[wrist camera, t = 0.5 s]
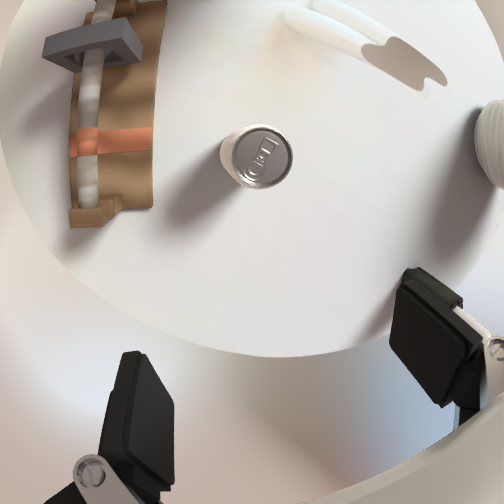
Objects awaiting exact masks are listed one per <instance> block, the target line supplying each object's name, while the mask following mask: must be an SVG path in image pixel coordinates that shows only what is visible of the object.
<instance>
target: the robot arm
mask: <svg viewBox="0 0 504 504" xmlns="http://www.w3.org/2000/svg"><path fill="white" fill-rule="evenodd" d="M482 340H483V337H482V336H481V335H480V334H479V333H478V332H477V331H476V330H475V329H473V328H472V327H471V326H470V325H469V324H468V323H467V322H466V321H464V320H463V319H462V318H461V317H460V316H459V315H457V314H456V313H455V312H454V311H453V310H452V309H450V308H449V307H448V306H447V305H446V304H444V303H443V302H442V301H441V300H440V299H438V298H437V297H436V296H435V295H433V294H432V293H431V292H430V291H429V290H427V289H426V288H425V287H423V286H422V285H421V284H420V283H418V282H417V281H416V280H410V281H407V282H405V283H402V284H400V286H399V289H398V290H397V292H396V300H395V307H394V314H393V321H392V327H391V333H390V339H389V344H390V347H391V349H392V350H393V351H394V352H395V354H396V355H397V356H398V357H399V359H400V360H401V361H402V362H403V364H404V365H405V366H406V367H407V369H408V370H409V371H410V372H411V374H412V375H413V376H414V378H415V379H416V380H417V382H418V383H419V384H420V385H421V387H422V388H423V389H424V391H425V392H426V393H427V394H428V396H429V397H430V398H431V400H432V401H433V402H434V403H435V404H439V406H440V407H441V408H443V407H445V406H446V405H448V404H449V403H451V402H452V400H453V402H454V403H455V404H456V405H455V417H454V427H453V431H452V432H451V433H450V434H448V435H447V436H445V437H444V438H442V439H441V440H439V441H438V442H436V443H435V444H433V445H431V446H430V447H428V448H427V449H425V450H423V451H422V452H420V453H418V454H417V455H415V456H413V457H411V458H409V459H408V460H406V461H404V462H402V463H400V464H398V465H396V466H395V467H393V468H391V469H389V470H387V471H385V472H382V473H380V474H378V475H376V476H374V477H372V478H369V479H367V480H365V481H362V482H360V483H358V484H355V485H353V486H350V487H348V488H345V489H342V490H340V491H337V492H334V493H331V494H328V495H325V496H322V497H319V498H316V499H312V500H309V501H306V502H302V503H298V504H504V337H501V336H492V337H490V338H488V339H487V340H486V342H485V344H483V343H482ZM73 479H74V481H73V482H72V483H71V484H69V485H68V486H67V487H65V488H64V489H62V490H61V491H60V492H58V493H57V494H56V495H54V496H53V497H51V498H50V499H48V500H47V501H46V502H45V503H44V504H163V503H162V502H161V501H160V491H171V485H173V484H174V482H175V478H174V403H173V400H172V398H171V396H170V395H169V393H168V392H167V390H166V388H165V387H164V385H163V383H162V382H161V380H160V378H159V377H158V375H157V373H156V372H155V370H154V368H153V366H152V364H151V363H150V361H149V359H148V357H147V356H146V354H141V352H140V351H131V352H125V353H123V354H122V357H121V361H120V365H119V369H118V372H117V376H116V380H115V384H114V389H113V390H112V391H111V393H110V396H109V400H108V405H107V409H106V414H105V418H104V423H103V428H102V433H101V438H100V444H99V450H98V455H94V454H90V455H85V456H83V457H82V458H80V459H79V460H78V461H77V462H76V464H75V466H74V469H73Z"/></svg>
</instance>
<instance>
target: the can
mask: <svg viewBox="0 0 504 504" xmlns="http://www.w3.org/2000/svg"><path fill="white" fill-rule="evenodd" d="M220 160H221V163H222V165H223V167H224V168H225V170H226V171H227V172H228V173H229V174H230V175H231V176H232V178H233V179H235V180H236V181H237V182H238V183H239V184H241V185H243V186H245V187H248V188H251V189H266V188H270V187H272V186H274V185H276V184H278V183H279V182H281V181H282V180H283V179H284V178H285V177H286V176H287V174H288V173H289V171H290V169H291V166H292V162H293V153H292V149H291V146H290V144H289V142H288V140H287V139H286V138H285V136H284V135H283V134H282V133H281V132H280V131H278V130H277V129H275V128H273V127H271V126H268V125H263V124H254V125H249V126H246V127H243V128H241V129H239V130H237V131H235V132H233V133H231V134H230V135H228V136H227V137H226V138H225V140H224V141H223V143H222V145H221V148H220Z"/></svg>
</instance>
